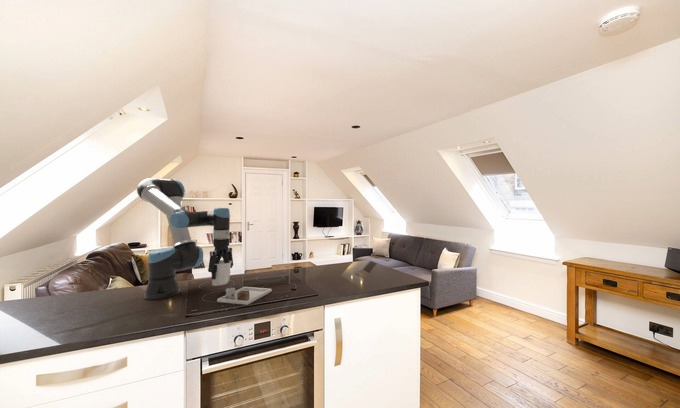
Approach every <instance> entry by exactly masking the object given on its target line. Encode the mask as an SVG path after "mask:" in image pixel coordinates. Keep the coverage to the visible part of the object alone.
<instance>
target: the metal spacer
mask: <svg viewBox="0 0 680 408" xmlns="http://www.w3.org/2000/svg"><path fill="white" fill-rule="evenodd" d="M235 291H236V288H235V287H228V288H225V295H226V299H232V300H235Z"/></svg>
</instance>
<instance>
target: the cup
mask: <svg viewBox="0 0 680 408" xmlns="http://www.w3.org/2000/svg"><path fill="white" fill-rule="evenodd" d="M231 262H232V261H230V260H229V263H224V260H223V259H222V260H221V259H220V262H219V264H215V265H217V272H218V286H224V285H227V284H228V283H229V281H228V278H229V272H230V273H231V268H230V267H231ZM214 270H215V269H214Z"/></svg>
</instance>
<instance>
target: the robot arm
mask: <svg viewBox="0 0 680 408" xmlns="http://www.w3.org/2000/svg"><path fill="white" fill-rule="evenodd" d="M136 191H137V195H138V197H139V198H140V199H142V200H143V201H144V202H147V203H150V204H152V205H153V206H154V207H155V208H157V209H158V210H159V211H160V212H162V214H164V215H166V219H167V222H168V226H169V230H170V234H171V236H172V241H173V243H174V244H173V246H171V247H167V246H166V247H162V248H157V249H154V250H152V251H150V252H149V253H148V256H147V263H148V265H147V267H148V268H147V269H148V272H147V273H148V283H147V286H146V289H145V291H144V299H146V300H161V299H167V298H171V297H174V296H177V295H179V293H180V290H181V289H180V287H179V285H178V281H177V278H176V272H181V271H185V270H189V269H194V268H196V267H199V266H200V265H202V264H201V263H202V262H203V260H204V250H203V248H202V247H201V246H199V245H197V244H196V242H195V240H192V237H191V235H190V229H189V228H194V227H195V228H196V227H208V226H209V227H213V235H212V236H213V247H214V249H213V250H211V251H209V261H208V268H207V272H209V273H211V286H214V287H217V286H219V285H218V272H217V265H215V264H219V262H220V260H221V259H222V260H224V263H229V260H230V261H232V262H231V267H230V269H231V268H233V266H234V260H233V248H232V247H229V246H230V225H231V224H230V223H231V222H230V221H231V220H230V219H231V218H230V217H231V213H230V208H228V207H215V208H213V211H212V210H211V211H210V210H208V211H207V210H201V211H189V210H187V209H185V208H184V207H183V206H182V201H183V198H184V197H185V192H186V190H185V186H184V185H183V183H182V182H181V181H179V180H177V179H172V178H169V179H168V178H157V177H156V178H155V177H151V178H150V177H148V178H144V179H143V180H141V181H140V182H139V184H138V185H137V187H136ZM214 269H215V270H214ZM230 275H231V271H230V272H229V278H228V282H230V281H231V280H230V279H231V276H230Z"/></svg>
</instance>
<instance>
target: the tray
mask: <svg viewBox="0 0 680 408" xmlns="http://www.w3.org/2000/svg"><path fill="white" fill-rule="evenodd" d="M272 290H273V289H272V288H265V287H252V286H243V287H241V288H239V289H235V300H232V299H226V294H225V295H223V296H221V297H218V298H217V299H216V302H218V303H224V304H236V305H246V306H248V305H250V304H252V303H253V302H255V301H257V300H259V299H261V298H262V297H264V296H266V295H268V294H270V293H271V292H272ZM240 291H249V300H248V301H243V300H237V293H239V292H240Z"/></svg>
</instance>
